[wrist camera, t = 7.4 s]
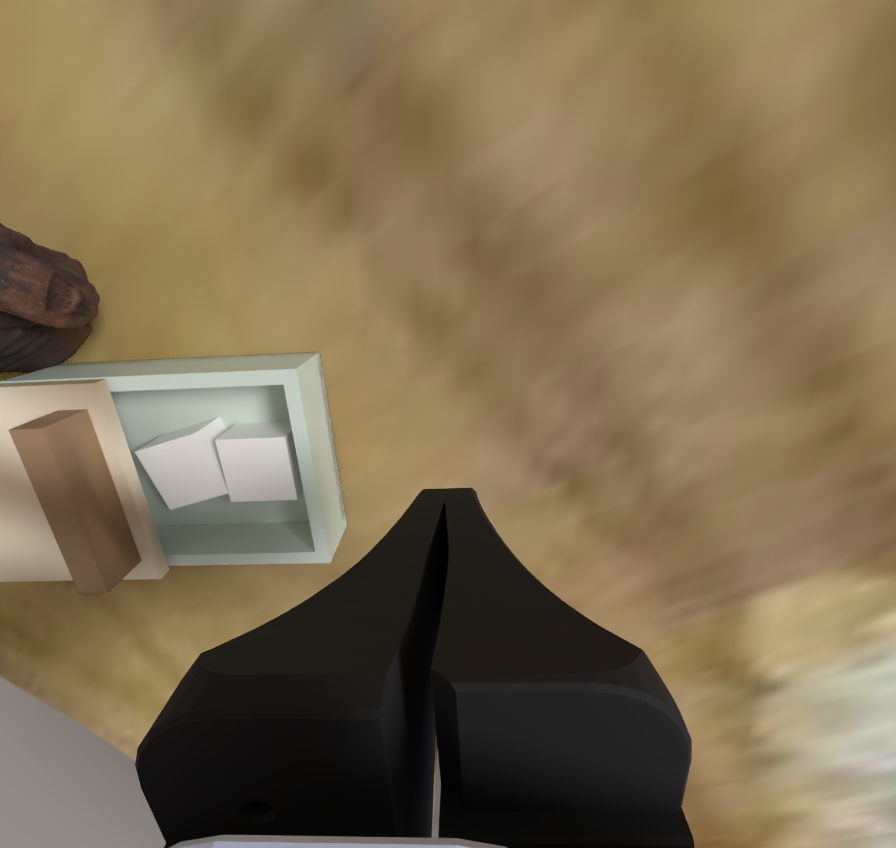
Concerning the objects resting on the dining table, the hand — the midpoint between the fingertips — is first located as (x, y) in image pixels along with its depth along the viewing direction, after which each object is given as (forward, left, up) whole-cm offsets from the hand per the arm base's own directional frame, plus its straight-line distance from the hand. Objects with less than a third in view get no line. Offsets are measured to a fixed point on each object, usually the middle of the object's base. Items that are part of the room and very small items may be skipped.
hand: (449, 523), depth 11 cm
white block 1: (-2, +12, -9) cm, 15 cm away
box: (-2, +12, -10) cm, 16 cm away
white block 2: (-2, +9, -9) cm, 13 cm away
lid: (-2, +19, -7) cm, 20 cm away
